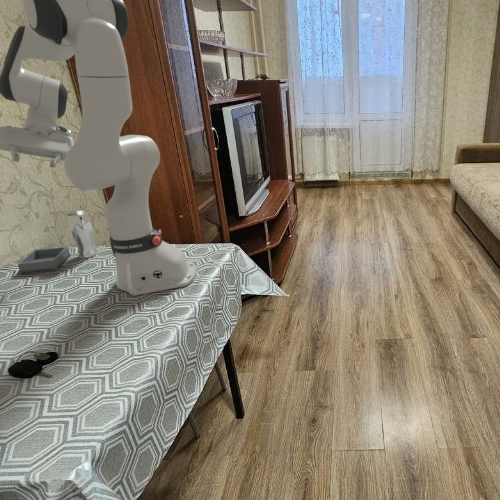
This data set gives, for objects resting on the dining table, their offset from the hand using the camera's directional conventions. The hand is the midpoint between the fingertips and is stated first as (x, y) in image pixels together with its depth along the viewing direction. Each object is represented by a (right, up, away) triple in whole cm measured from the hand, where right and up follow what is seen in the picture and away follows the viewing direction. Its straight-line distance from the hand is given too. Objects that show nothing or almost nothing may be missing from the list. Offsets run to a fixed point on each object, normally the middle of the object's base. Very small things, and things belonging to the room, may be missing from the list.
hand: (34, 162), depth 110 cm
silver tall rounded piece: (+8, -27, +19) cm, 34 cm away
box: (-4, -30, +14) cm, 33 cm away
